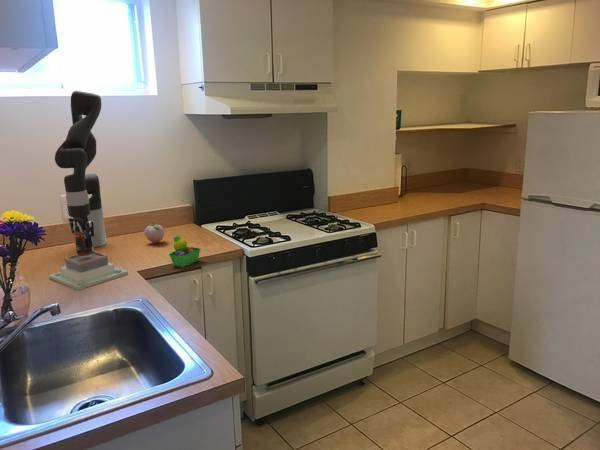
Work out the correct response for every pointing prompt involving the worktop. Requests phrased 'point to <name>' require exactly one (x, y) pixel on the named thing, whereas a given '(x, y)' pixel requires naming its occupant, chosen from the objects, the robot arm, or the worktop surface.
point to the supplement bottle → (82, 243)
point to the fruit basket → (183, 253)
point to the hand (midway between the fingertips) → (84, 246)
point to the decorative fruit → (154, 233)
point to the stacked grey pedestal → (87, 271)
